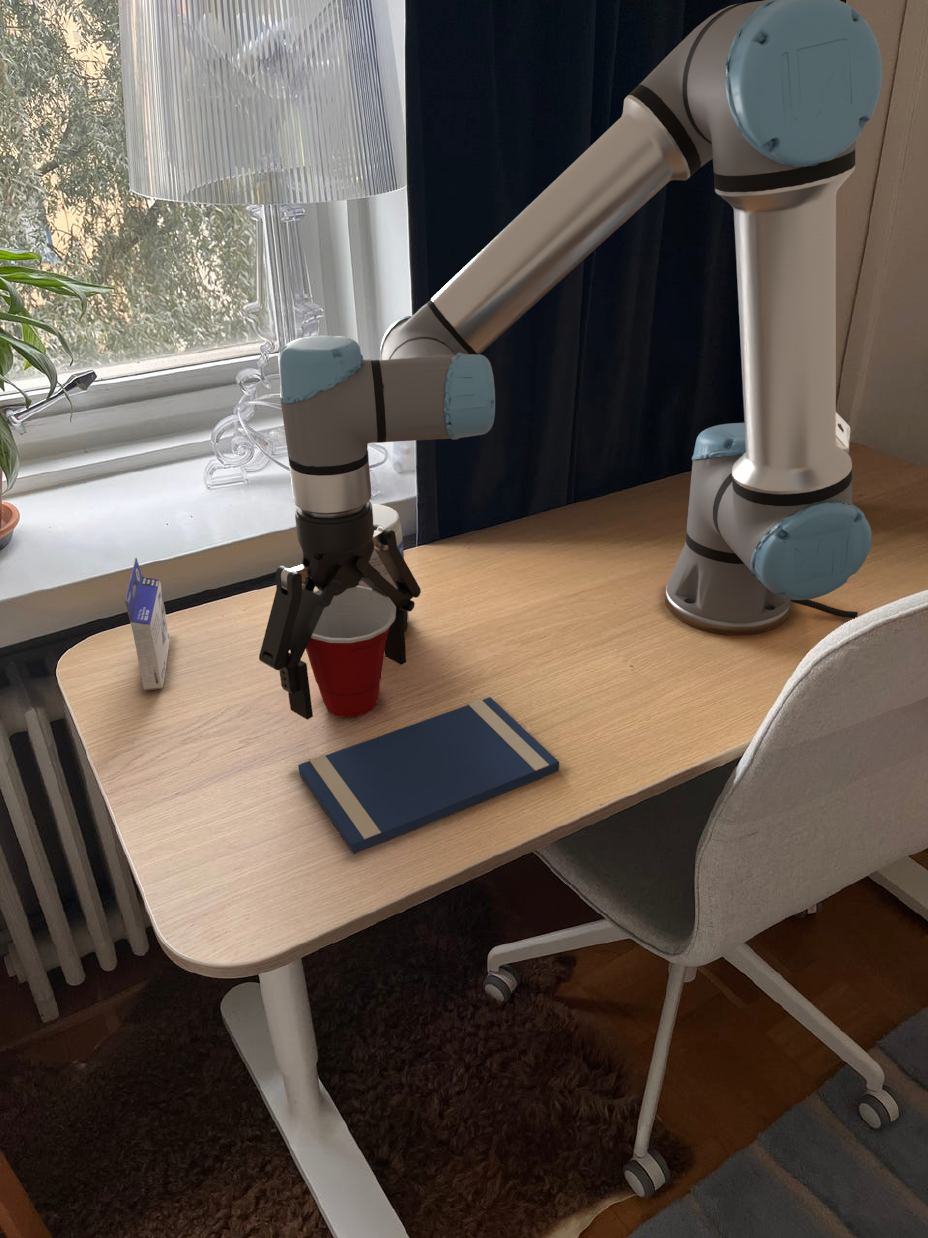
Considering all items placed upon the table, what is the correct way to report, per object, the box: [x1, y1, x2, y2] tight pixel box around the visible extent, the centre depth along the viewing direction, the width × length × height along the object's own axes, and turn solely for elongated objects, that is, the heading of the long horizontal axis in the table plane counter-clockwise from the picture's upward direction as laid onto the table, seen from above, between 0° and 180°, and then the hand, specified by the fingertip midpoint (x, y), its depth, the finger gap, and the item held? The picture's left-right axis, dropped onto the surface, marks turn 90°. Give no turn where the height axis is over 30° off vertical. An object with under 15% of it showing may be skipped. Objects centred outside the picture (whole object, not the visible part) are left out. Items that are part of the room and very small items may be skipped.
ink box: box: [124, 557, 171, 691], centre depth 110 cm, size 12×2×12 cm, turn 11°
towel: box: [297, 696, 560, 855], centre depth 94 cm, size 22×13×1 cm, turn 120°
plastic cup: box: [305, 585, 396, 718], centre depth 102 cm, size 11×11×12 cm
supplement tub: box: [359, 503, 409, 621], centre depth 116 cm, size 10×10×15 cm
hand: (350, 685), depth 104 cm, fingers open, 13 cm apart
